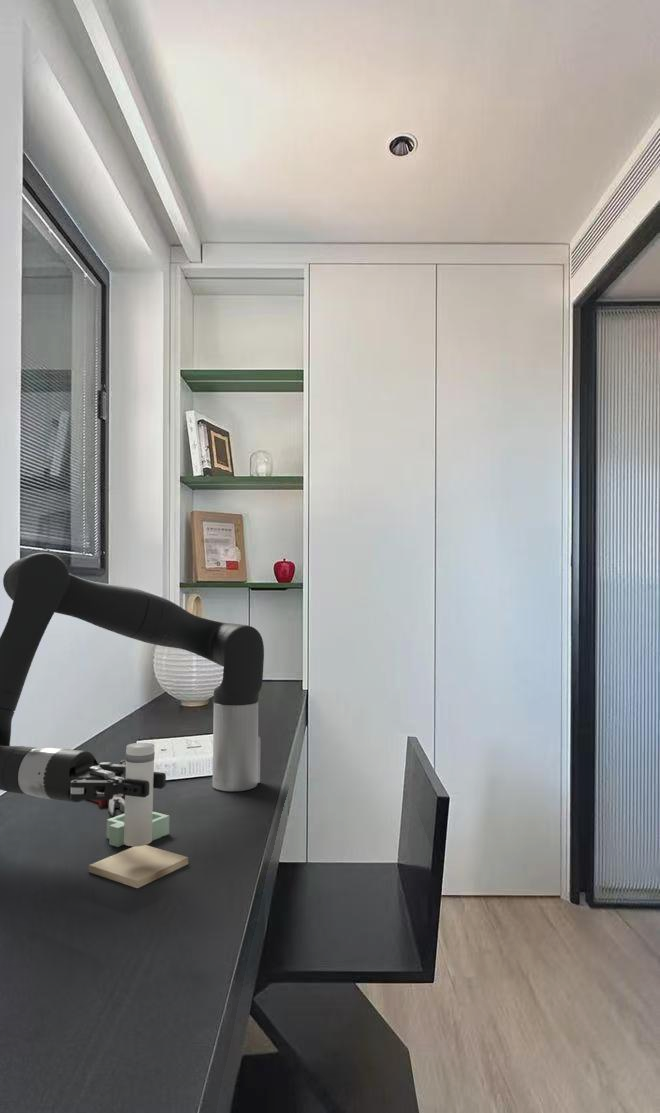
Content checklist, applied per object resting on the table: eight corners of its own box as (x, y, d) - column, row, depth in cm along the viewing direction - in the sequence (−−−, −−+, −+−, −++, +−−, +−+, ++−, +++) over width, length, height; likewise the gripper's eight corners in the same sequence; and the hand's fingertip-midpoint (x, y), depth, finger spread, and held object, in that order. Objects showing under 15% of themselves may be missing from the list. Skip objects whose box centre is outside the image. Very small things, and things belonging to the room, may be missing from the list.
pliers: (86, 824, 124) (86, 809, 124) (77, 793, 143) (77, 780, 143) (153, 816, 129) (153, 802, 129) (135, 786, 147) (136, 774, 147)
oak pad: (141, 849, 112) (141, 843, 112) (188, 864, 106) (188, 857, 106) (89, 872, 103) (89, 865, 103) (137, 888, 98) (137, 881, 98)
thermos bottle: (138, 834, 108) (141, 741, 108) (157, 840, 105) (160, 745, 106) (117, 842, 104) (120, 746, 105) (136, 848, 102) (139, 750, 102)
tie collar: (139, 825, 123) (139, 808, 123) (169, 833, 119) (169, 815, 119) (98, 841, 115) (98, 822, 115) (129, 850, 111) (129, 831, 112)
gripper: (26, 760, 103) (130, 771, 98) (87, 739, 116) (181, 748, 111) (24, 812, 102) (128, 826, 97) (86, 785, 116) (180, 797, 111)
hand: (156, 784), depth 104 cm, fingers closed on thermos bottle, 4 cm apart
